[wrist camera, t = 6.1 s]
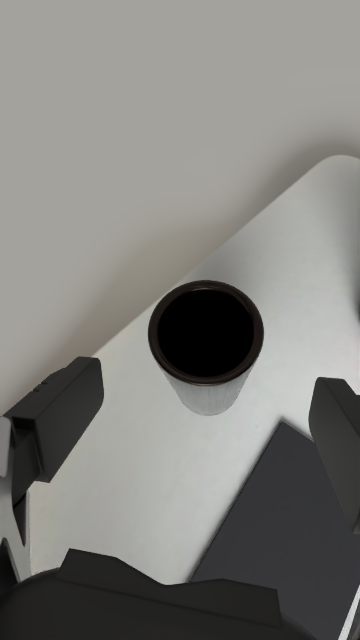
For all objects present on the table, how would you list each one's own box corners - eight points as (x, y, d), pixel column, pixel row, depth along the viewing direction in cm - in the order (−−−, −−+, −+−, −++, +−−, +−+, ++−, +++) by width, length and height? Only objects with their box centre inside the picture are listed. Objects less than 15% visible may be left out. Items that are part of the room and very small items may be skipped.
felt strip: (220, 927, 10) (220, 939, 10) (98, 740, 13) (95, 747, 12) (390, 497, 16) (393, 498, 15) (281, 421, 18) (282, 420, 18)
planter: (208, 430, 18) (205, 414, 9) (164, 383, 20) (124, 328, 11) (251, 383, 19) (290, 325, 10) (206, 342, 21) (203, 260, 12)
